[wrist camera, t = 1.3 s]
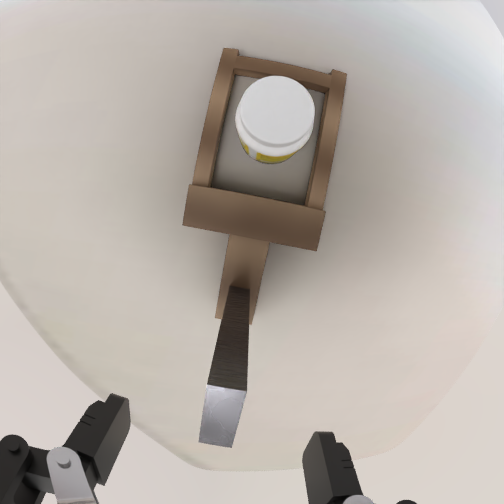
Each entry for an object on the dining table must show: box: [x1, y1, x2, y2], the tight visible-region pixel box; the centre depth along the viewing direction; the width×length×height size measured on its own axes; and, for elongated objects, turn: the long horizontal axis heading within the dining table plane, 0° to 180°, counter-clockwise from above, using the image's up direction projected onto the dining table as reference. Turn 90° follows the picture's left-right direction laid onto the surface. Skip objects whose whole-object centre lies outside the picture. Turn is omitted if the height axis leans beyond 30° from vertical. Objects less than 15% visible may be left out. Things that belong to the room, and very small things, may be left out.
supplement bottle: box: [235, 76, 315, 164], centre depth 18 cm, size 5×5×8 cm
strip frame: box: [183, 48, 347, 448], centre depth 16 cm, size 23×10×14 cm, turn 169°
